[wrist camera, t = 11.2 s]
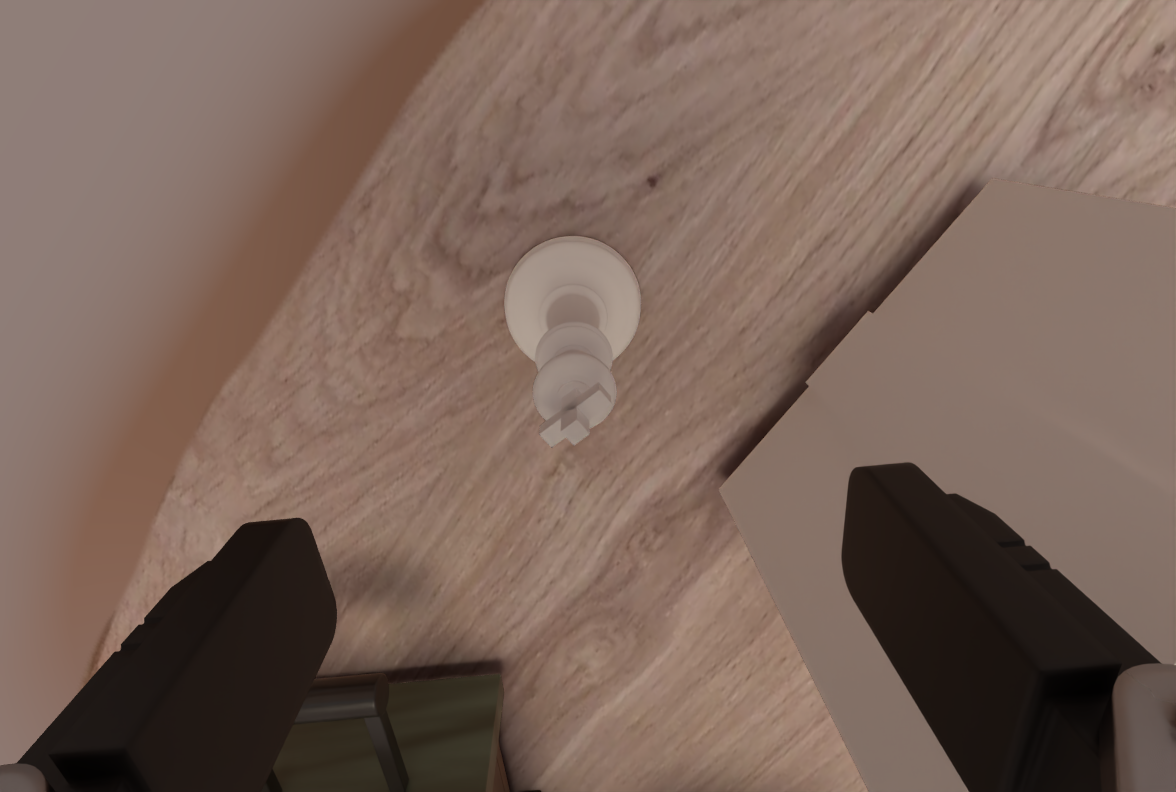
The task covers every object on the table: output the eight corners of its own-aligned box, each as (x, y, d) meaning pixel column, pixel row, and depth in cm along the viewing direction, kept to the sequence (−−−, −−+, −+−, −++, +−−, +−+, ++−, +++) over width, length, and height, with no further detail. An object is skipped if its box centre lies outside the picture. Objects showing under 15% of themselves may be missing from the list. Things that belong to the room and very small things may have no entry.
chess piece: (667, 315, 22) (739, 447, 13) (563, 393, 23) (559, 566, 14) (583, 205, 20) (594, 264, 11) (475, 295, 21) (405, 417, 12)
